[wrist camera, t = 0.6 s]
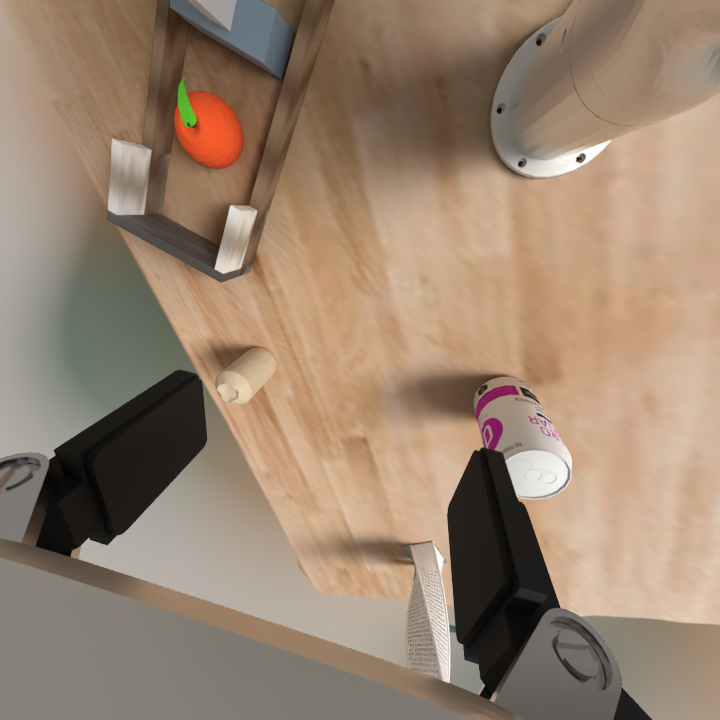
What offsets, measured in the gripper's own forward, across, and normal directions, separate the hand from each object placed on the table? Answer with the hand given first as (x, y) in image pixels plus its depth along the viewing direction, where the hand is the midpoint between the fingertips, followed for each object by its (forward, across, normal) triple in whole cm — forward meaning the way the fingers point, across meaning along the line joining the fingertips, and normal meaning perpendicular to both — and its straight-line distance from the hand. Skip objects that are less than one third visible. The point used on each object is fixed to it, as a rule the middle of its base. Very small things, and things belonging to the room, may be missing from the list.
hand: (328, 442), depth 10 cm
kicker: (+34, +21, -21) cm, 45 cm away
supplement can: (+34, -19, +15) cm, 42 cm away
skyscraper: (+34, -18, +55) cm, 67 cm away
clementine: (+34, +24, -12) cm, 43 cm away
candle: (+34, +19, +19) cm, 43 cm away
